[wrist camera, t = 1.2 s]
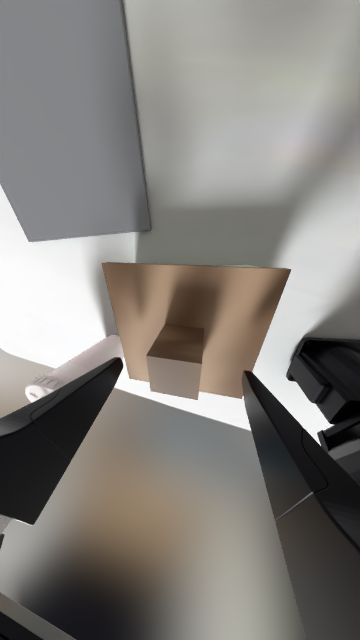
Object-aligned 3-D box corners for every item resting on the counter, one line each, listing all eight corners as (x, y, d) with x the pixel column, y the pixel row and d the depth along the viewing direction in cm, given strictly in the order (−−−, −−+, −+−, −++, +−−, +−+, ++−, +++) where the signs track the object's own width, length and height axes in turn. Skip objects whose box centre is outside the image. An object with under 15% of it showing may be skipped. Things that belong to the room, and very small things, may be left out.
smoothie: (91, 333, 21) (-75, 449, 9) (120, 321, 19) (-48, 453, 6) (115, 362, 23) (9, 488, 11) (143, 354, 21) (52, 501, 9)
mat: (101, -162, 6) (94, -187, 6) (151, 230, 13) (149, 229, 12) (-91, -15, 9) (-103, -26, 9) (32, 241, 16) (28, 241, 15)
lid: (284, 268, 9) (356, 283, 4) (239, 391, 15) (252, 447, 11) (108, 262, 11) (45, 268, 7) (132, 373, 17) (107, 413, 13)
